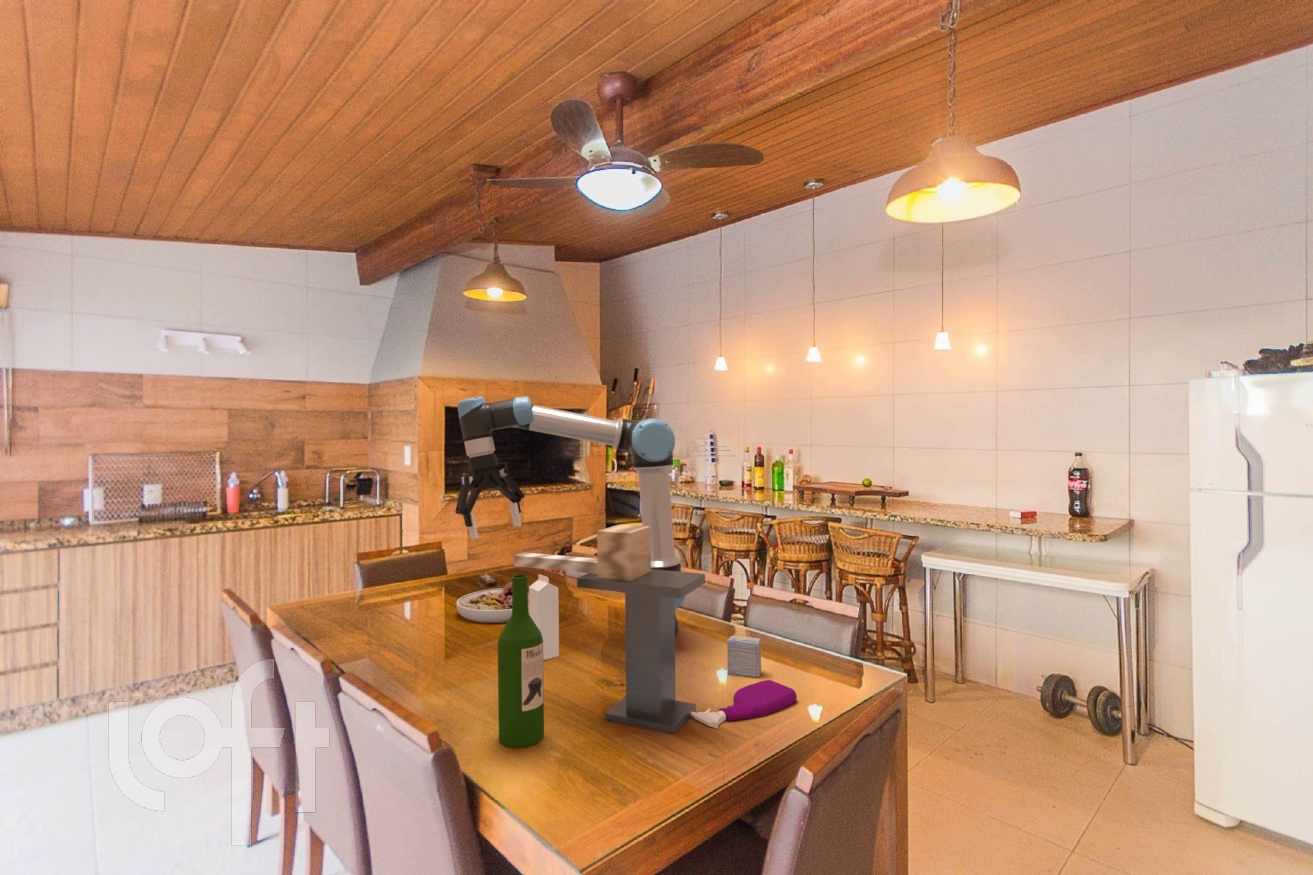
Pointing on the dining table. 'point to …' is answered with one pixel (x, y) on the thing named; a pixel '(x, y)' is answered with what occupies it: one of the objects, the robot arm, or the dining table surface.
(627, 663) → the stand
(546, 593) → the milk
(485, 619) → the bowl
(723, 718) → the spray bottle
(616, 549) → the wooden l-shaped block
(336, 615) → the dining table surface
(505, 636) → the wine bottle
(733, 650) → the medicine box
